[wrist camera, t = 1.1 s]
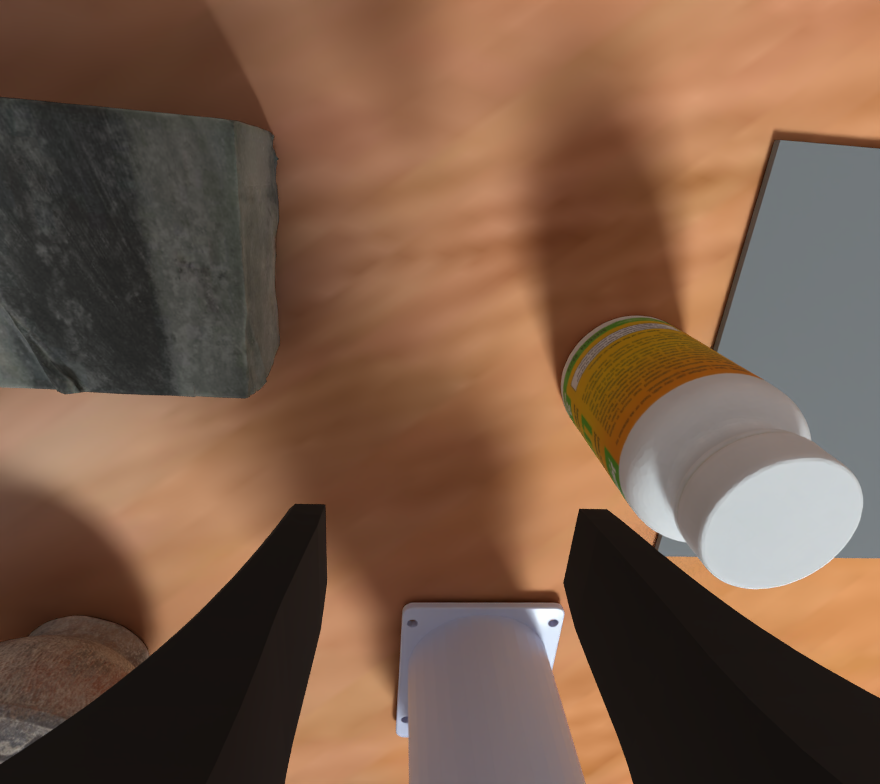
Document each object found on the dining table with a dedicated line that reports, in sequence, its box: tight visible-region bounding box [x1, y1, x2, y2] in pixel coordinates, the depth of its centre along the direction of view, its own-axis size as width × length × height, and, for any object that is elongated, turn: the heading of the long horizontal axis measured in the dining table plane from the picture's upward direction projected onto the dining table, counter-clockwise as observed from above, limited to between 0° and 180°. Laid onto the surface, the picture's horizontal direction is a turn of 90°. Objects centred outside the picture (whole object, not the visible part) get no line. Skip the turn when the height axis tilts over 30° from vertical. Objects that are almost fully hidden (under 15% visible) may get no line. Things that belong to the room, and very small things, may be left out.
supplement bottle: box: [561, 316, 863, 589], centre depth 17 cm, size 5×5×10 cm
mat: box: [655, 140, 880, 558], centre depth 22 cm, size 18×14×1 cm
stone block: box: [0, 97, 280, 398], centre depth 16 cm, size 9×14×5 cm, turn 85°
